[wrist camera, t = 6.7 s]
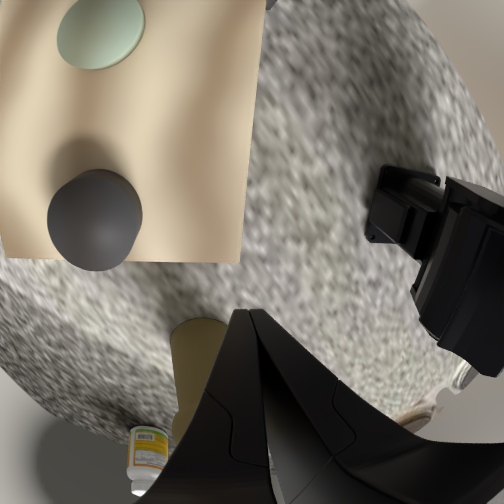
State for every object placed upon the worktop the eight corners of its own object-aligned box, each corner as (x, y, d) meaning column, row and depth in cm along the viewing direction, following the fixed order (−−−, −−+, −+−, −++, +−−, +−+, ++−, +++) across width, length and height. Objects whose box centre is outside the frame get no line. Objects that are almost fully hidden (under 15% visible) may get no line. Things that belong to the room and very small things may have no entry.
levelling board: (266, -33, 11) (280, -59, 7) (236, 250, 19) (243, 282, 16) (15, -4, 8) (-13, -15, 5) (15, 247, 16) (-8, 273, 13)
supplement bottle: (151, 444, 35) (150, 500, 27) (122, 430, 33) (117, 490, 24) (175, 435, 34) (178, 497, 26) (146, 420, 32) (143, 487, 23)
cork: (158, 346, 26) (150, 453, 16) (195, 306, 24) (198, 424, 14) (210, 371, 28) (219, 470, 19) (249, 336, 27) (273, 443, 17)
